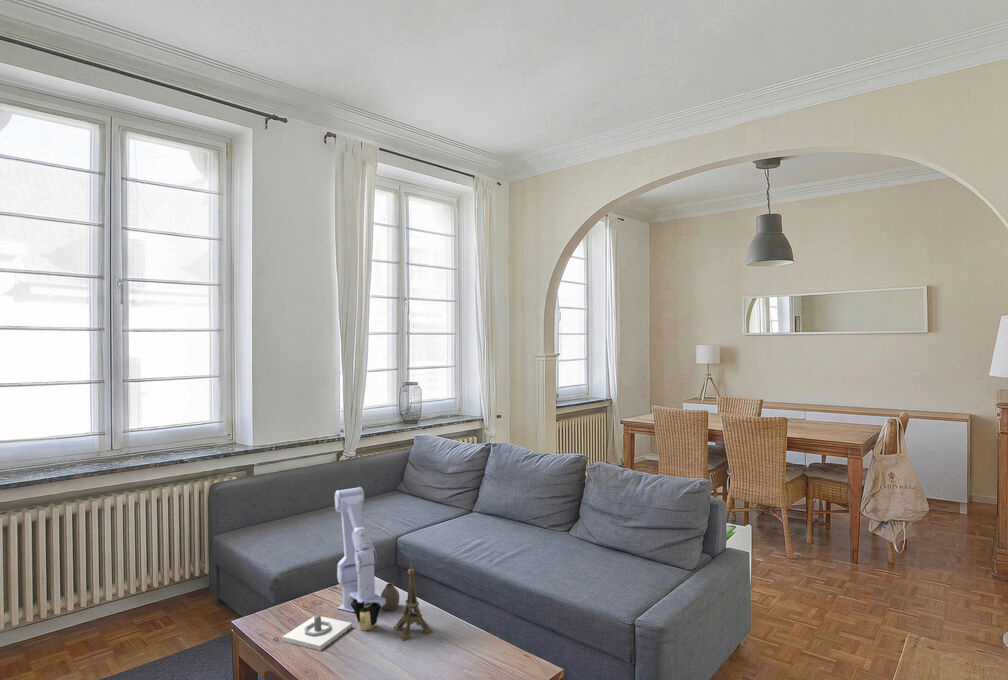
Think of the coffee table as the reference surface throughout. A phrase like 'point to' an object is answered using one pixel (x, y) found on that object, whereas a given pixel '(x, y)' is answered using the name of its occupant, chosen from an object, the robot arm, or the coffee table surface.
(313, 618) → the post board
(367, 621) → the collar
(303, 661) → the coffee table surface
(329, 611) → the coffee table surface
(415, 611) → the eiffel tower
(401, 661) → the coffee table surface
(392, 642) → the coffee table surface
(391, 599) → the vase
